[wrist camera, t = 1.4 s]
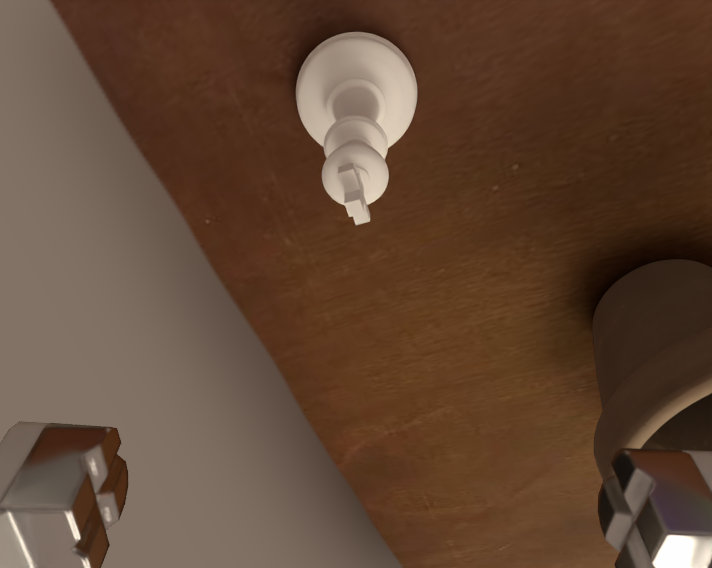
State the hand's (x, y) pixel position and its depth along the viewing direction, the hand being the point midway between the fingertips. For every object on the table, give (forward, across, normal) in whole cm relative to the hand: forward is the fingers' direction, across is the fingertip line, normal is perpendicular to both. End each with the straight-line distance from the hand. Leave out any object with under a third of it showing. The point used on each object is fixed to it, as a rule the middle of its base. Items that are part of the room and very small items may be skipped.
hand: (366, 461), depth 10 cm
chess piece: (+18, 0, 0) cm, 19 cm away
